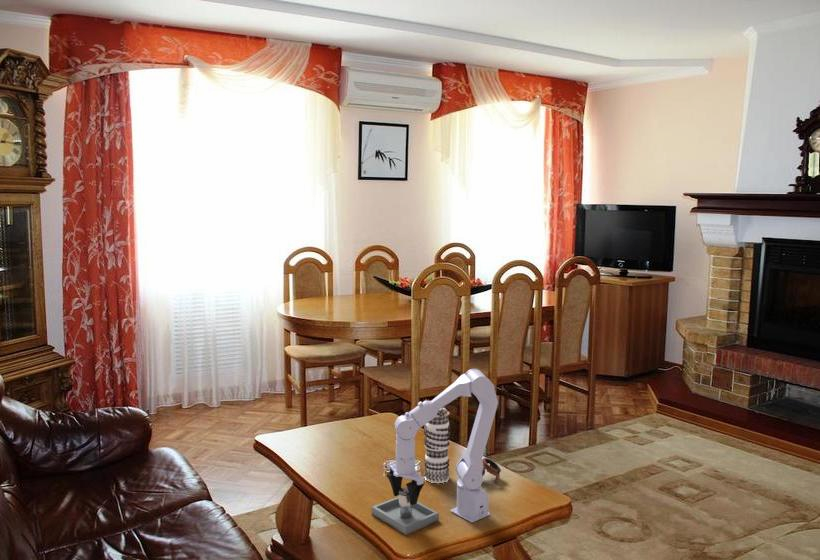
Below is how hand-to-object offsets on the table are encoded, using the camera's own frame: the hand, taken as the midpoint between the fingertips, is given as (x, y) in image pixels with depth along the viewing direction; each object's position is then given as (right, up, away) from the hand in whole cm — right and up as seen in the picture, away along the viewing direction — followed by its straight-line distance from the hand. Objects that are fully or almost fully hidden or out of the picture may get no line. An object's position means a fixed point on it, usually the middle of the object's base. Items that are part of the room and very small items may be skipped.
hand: (405, 499), depth 203 cm
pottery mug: (+26, -3, +27) cm, 38 cm away
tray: (0, -6, +1) cm, 6 cm away
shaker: (0, -5, +1) cm, 5 cm away
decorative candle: (+11, -2, +28) cm, 30 cm away
